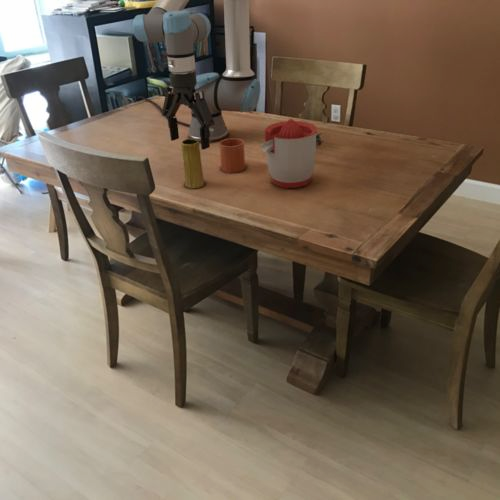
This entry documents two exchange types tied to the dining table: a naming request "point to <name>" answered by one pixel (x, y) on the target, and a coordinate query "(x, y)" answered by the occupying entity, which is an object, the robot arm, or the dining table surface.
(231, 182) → the dining table surface
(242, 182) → the dining table surface
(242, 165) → the terracotta cup
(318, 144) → the rhino figurine
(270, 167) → the citrus juicer
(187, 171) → the vase
